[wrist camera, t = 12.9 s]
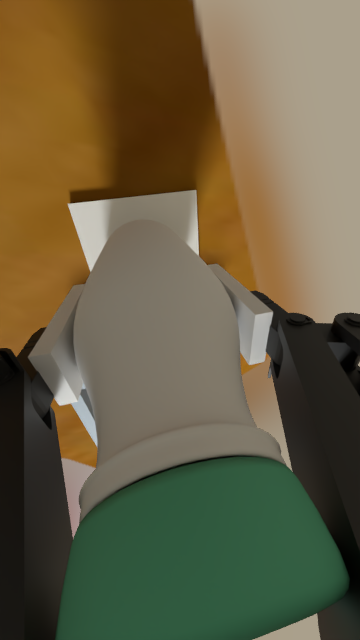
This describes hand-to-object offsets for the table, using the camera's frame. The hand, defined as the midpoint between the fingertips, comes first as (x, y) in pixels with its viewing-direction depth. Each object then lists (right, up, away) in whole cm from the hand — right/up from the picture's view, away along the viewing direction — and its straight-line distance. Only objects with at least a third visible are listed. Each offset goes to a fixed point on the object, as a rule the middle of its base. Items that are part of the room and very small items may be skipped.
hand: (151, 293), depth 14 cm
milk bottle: (-1, +4, +6) cm, 7 cm away
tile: (-2, +5, +8) cm, 9 cm away
